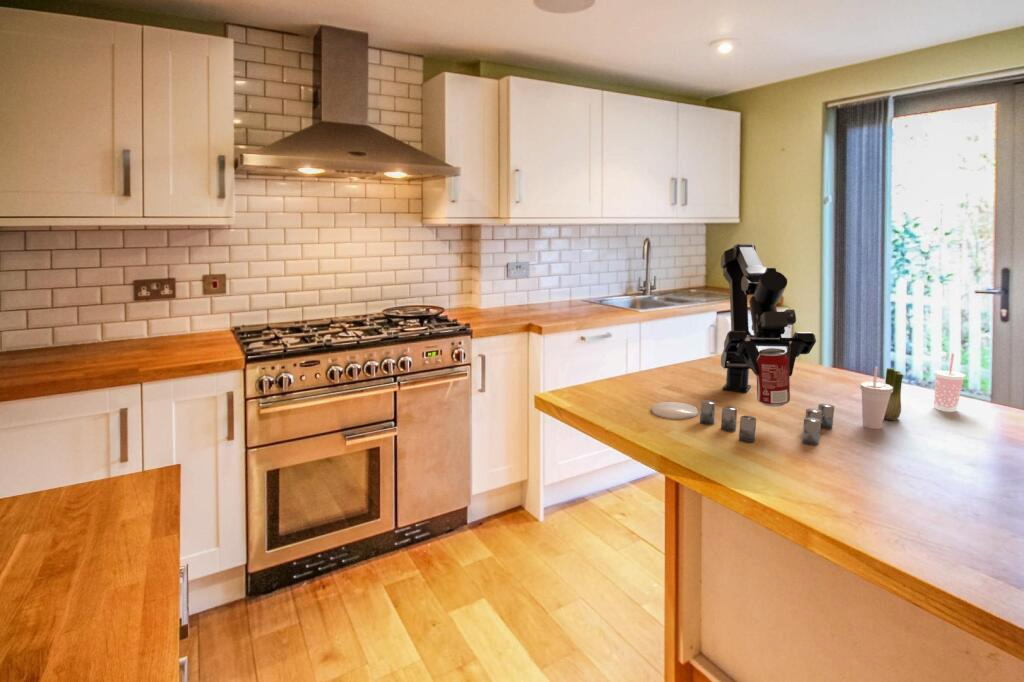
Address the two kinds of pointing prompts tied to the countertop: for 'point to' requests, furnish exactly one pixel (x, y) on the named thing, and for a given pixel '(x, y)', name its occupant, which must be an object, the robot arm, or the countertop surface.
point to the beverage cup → (948, 389)
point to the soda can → (773, 377)
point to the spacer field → (748, 423)
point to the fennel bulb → (893, 394)
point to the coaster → (674, 410)
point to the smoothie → (874, 402)
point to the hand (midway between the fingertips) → (773, 375)
